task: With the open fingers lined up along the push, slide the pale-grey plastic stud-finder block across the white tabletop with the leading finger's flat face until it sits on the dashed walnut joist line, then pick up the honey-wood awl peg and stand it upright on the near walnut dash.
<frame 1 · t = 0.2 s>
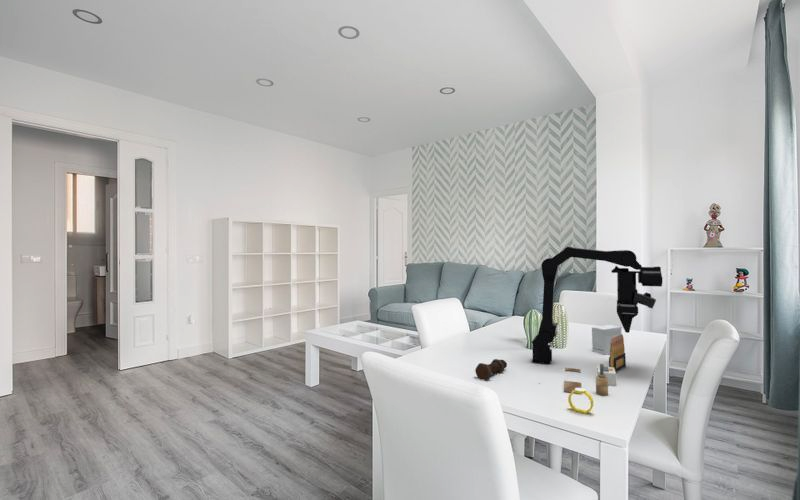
hand: (627, 330, 135), 14 cm above the table, fingers open, 9 cm apart
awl: (602, 393, 115), on the table
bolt: (493, 375, 134), on the table
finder: (606, 381, 125), on the table
joist strip: (572, 378, 128), on the table
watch: (580, 412, 103), on the table
ammunition clip: (617, 369, 137), on the table
skincare box: (606, 352, 161), on the table
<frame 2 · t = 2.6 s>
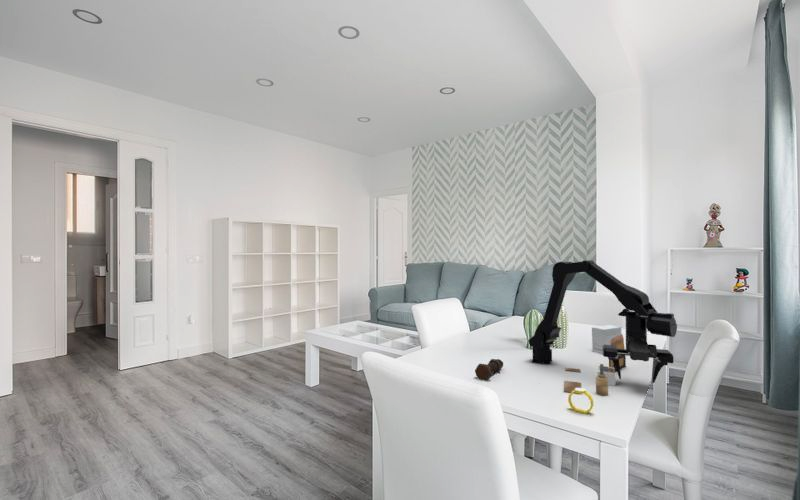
hand: (636, 380, 122), 1 cm above the table, fingers open, 9 cm apart
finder: (606, 381, 125), on the table, touching gripper
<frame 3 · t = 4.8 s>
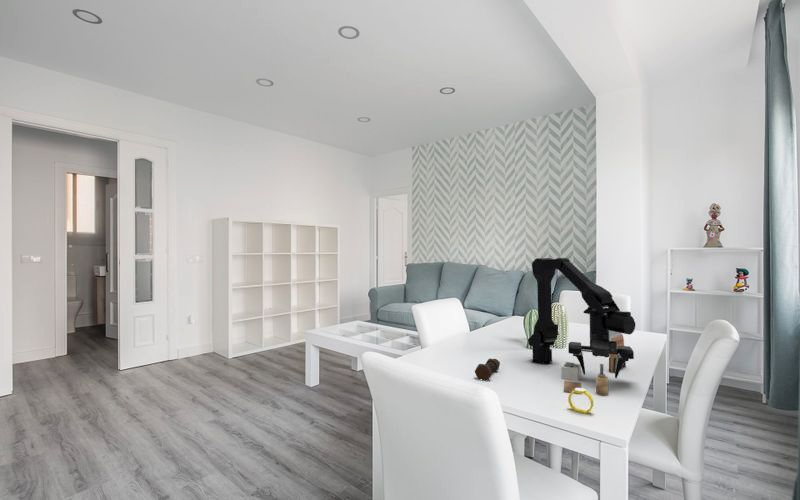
hand: (599, 376, 126), 1 cm above the table, fingers open, 9 cm apart
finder: (571, 377, 130), on the table
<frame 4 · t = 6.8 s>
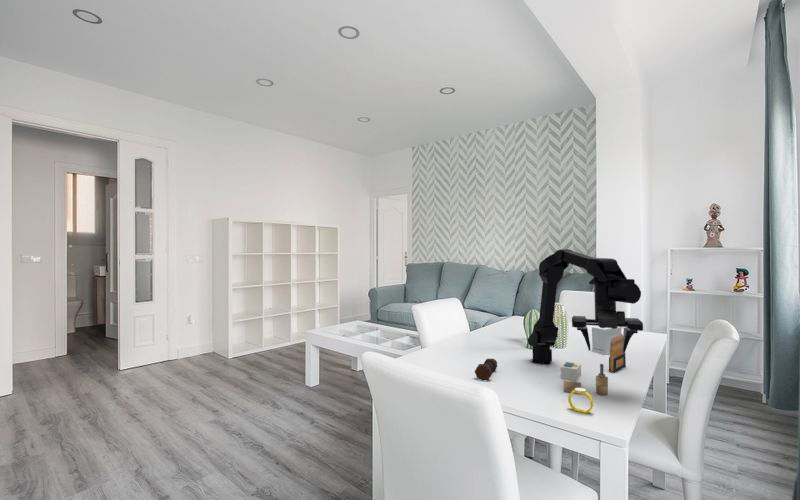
hand: (606, 351, 117), 12 cm above the table, fingers open, 9 cm apart
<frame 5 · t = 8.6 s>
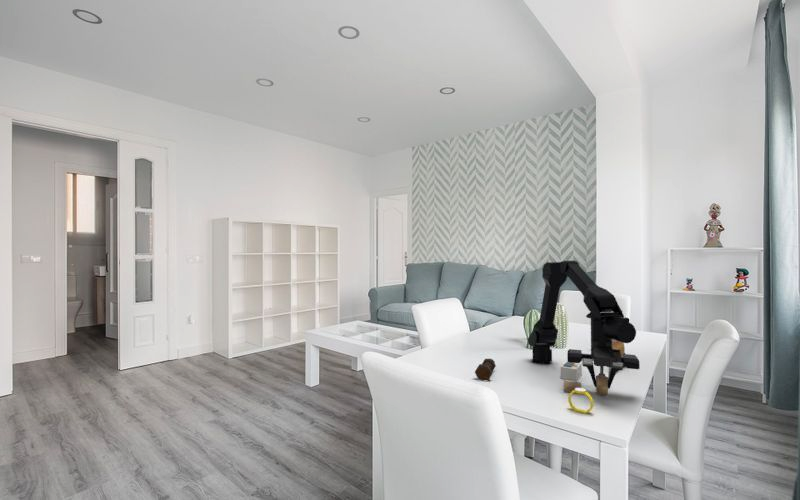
hand: (601, 387, 115), 2 cm above the table, fingers closed on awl, 3 cm apart
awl: (602, 393, 115), on the table, touching gripper
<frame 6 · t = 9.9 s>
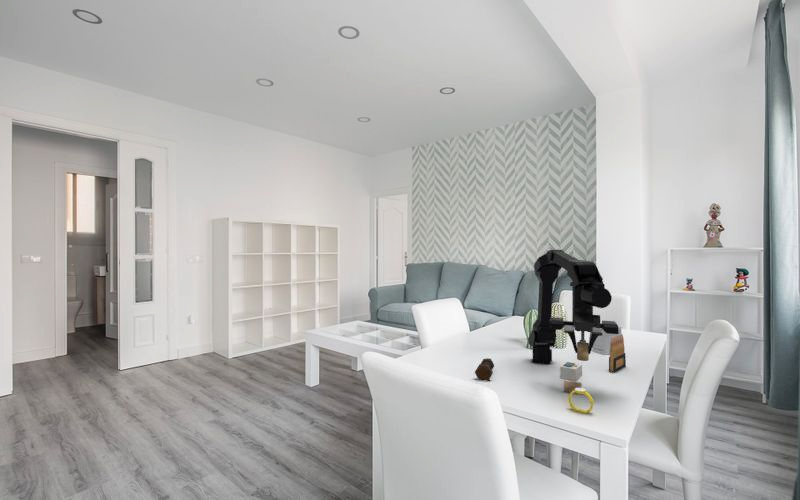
hand: (582, 353, 118), 11 cm above the table, fingers closed on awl, 3 cm apart
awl: (582, 359, 118), point 9 cm above the table, touching gripper
when the fingers open (3 cm above the table, at t = 11.9 s): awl drops 1 cm, resting on joist strip.
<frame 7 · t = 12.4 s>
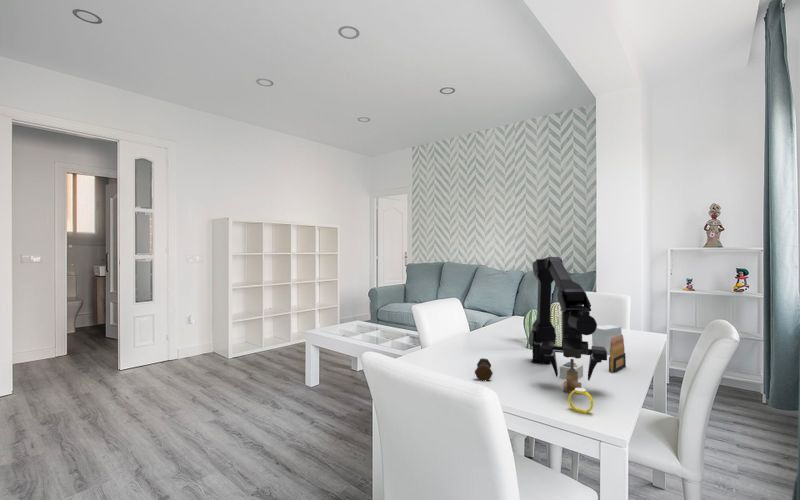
hand: (572, 378, 119), 3 cm above the table, fingers open, 9 cm apart
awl: (572, 387, 119), resting on joist strip
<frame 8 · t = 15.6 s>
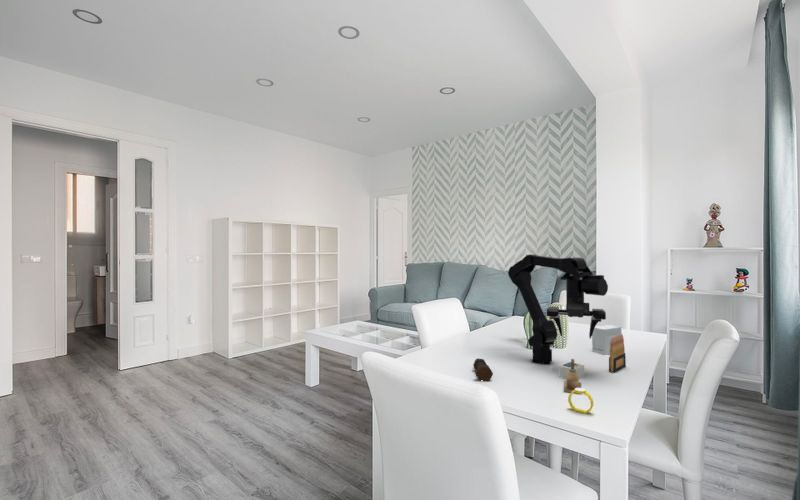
hand: (575, 337, 136), 12 cm above the table, fingers open, 9 cm apart
at the end: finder inside the target area (0.6 cm from its centre), on the table; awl inside the target area (0.8 cm from its centre), resting on joist strip; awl tilted 1° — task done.
